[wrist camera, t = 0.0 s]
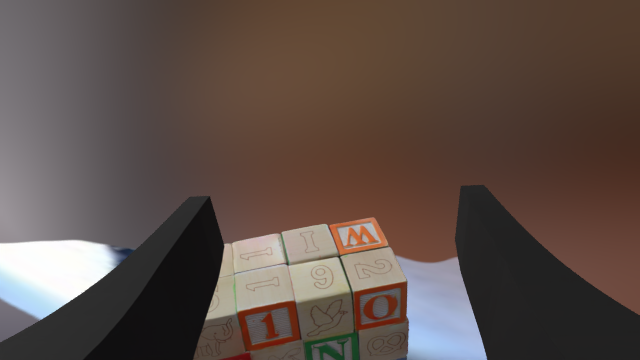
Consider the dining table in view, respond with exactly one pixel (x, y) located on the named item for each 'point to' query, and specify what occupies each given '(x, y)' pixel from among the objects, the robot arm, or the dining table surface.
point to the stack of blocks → (309, 297)
